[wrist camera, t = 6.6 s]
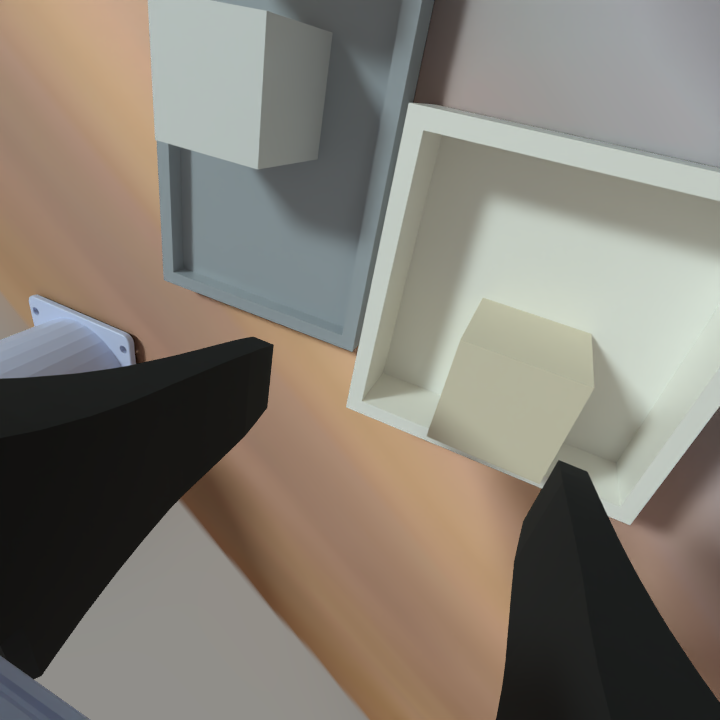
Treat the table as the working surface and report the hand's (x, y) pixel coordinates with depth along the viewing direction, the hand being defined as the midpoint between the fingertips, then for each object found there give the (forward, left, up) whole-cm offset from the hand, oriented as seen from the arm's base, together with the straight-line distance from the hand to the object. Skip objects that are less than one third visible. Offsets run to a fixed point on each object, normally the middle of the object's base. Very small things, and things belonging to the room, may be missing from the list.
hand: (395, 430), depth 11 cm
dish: (+1, -2, -9) cm, 9 cm away
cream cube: (-1, -2, -8) cm, 9 cm away
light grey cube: (+6, +9, -8) cm, 14 cm away
